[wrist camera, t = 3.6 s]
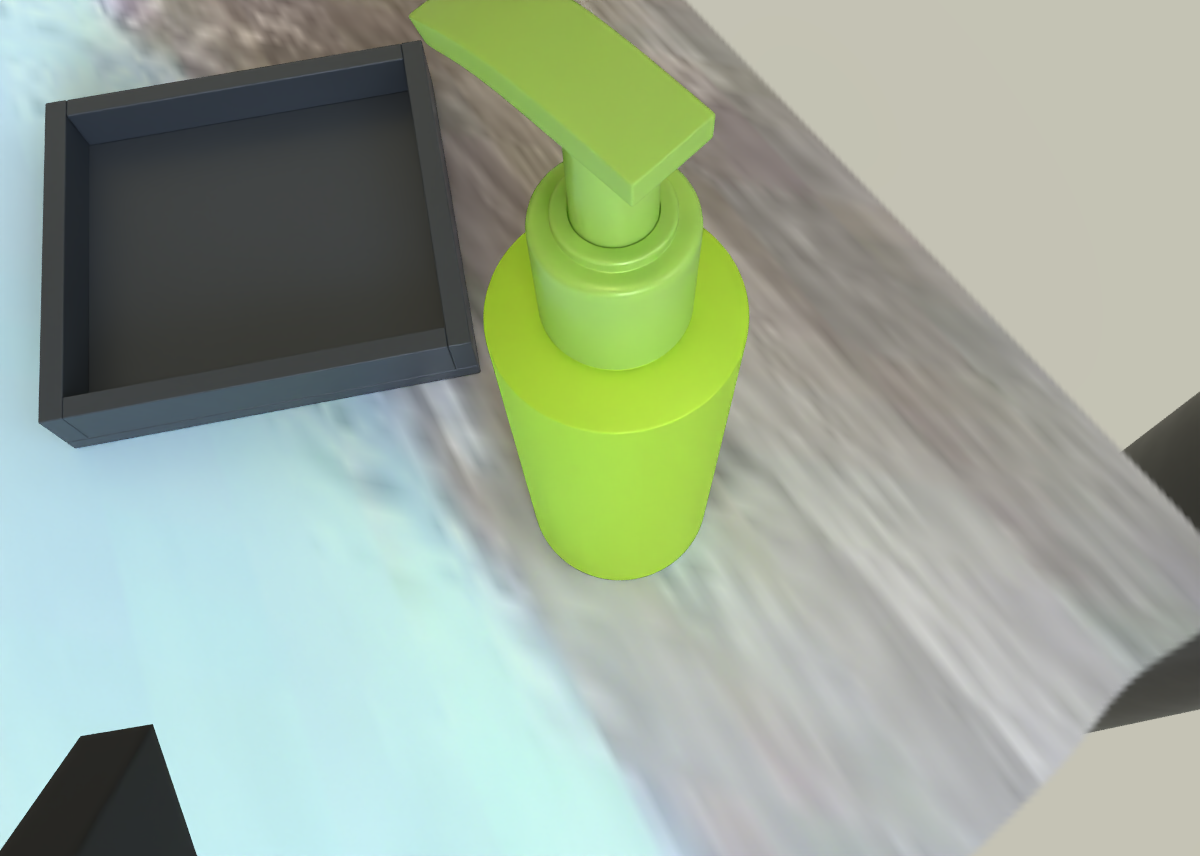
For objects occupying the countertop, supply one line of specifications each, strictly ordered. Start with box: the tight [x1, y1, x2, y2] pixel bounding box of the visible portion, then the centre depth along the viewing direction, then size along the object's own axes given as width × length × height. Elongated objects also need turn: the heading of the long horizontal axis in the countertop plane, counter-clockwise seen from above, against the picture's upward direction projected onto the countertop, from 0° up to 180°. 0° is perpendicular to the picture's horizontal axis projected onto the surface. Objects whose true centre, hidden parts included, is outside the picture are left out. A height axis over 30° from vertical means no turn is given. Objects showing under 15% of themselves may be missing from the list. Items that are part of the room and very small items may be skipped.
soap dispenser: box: [409, 0, 749, 580], centre depth 25 cm, size 6×7×20 cm
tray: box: [38, 40, 480, 448], centre depth 37 cm, size 15×14×2 cm
